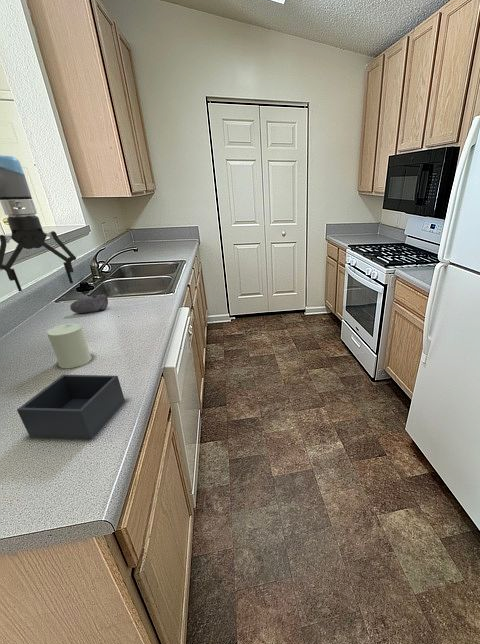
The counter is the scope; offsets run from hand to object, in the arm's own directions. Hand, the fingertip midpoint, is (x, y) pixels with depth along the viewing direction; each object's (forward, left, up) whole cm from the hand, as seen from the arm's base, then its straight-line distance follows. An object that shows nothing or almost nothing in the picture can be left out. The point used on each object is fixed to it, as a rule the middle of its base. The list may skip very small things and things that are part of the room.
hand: (46, 286), depth 107 cm
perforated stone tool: (-14, +36, -23) cm, 45 cm away
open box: (+29, -37, -22) cm, 52 cm away
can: (+9, -9, -23) cm, 26 cm away
